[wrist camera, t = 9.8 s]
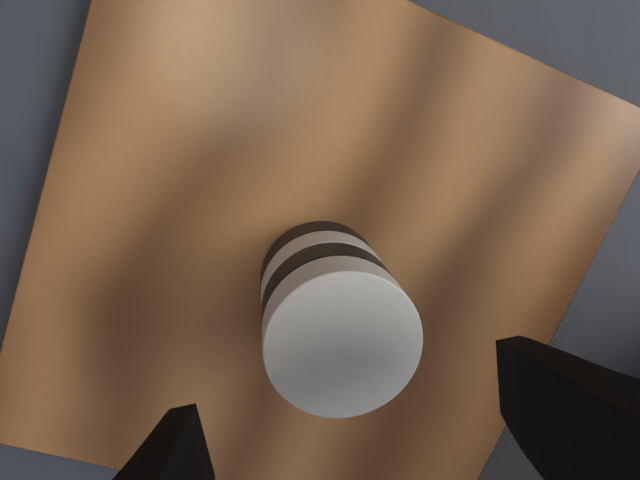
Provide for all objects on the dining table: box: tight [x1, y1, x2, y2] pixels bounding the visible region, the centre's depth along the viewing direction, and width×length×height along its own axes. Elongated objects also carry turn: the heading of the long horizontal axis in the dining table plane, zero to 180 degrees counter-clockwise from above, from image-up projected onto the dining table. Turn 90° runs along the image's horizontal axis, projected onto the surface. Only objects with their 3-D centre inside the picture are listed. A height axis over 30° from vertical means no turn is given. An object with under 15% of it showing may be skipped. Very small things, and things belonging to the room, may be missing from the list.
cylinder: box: [260, 221, 423, 418], centre depth 17 cm, size 4×4×6 cm
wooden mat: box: [0, 0, 640, 480], centre depth 19 cm, size 20×20×1 cm
